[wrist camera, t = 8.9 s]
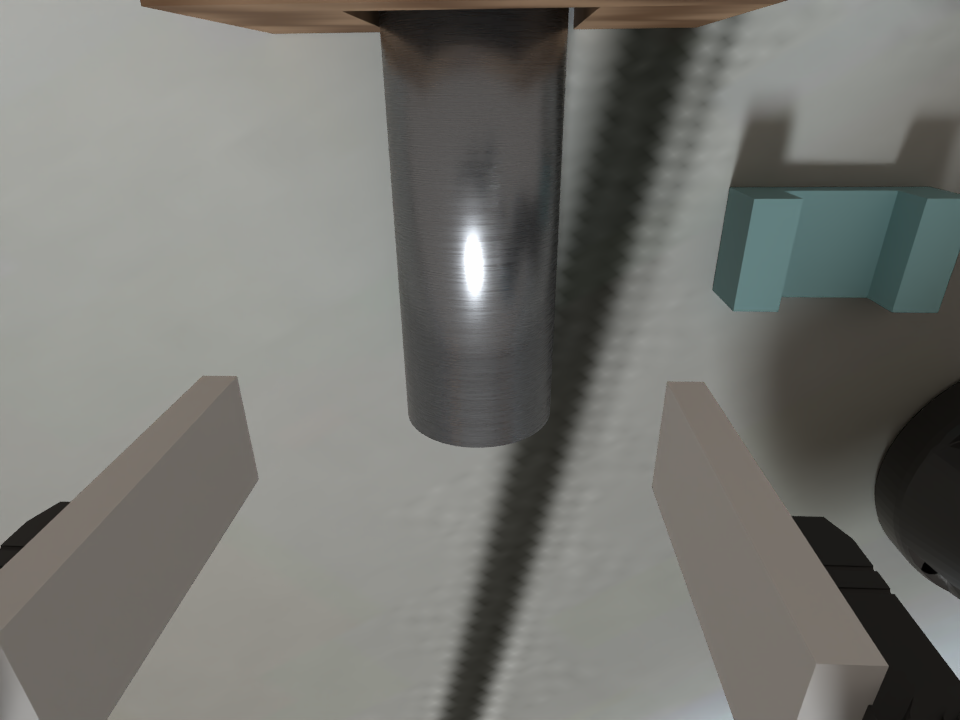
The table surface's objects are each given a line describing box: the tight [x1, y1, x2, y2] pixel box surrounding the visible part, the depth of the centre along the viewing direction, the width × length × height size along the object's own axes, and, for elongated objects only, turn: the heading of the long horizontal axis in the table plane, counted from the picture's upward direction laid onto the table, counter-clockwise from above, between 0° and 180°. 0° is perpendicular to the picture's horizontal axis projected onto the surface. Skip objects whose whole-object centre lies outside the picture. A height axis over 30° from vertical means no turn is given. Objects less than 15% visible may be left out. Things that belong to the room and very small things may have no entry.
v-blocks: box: [713, 187, 960, 313], centre depth 23 cm, size 9×21×3 cm, turn 1°
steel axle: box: [379, 7, 569, 447], centre depth 24 cm, size 24×7×7 cm, turn 1°
